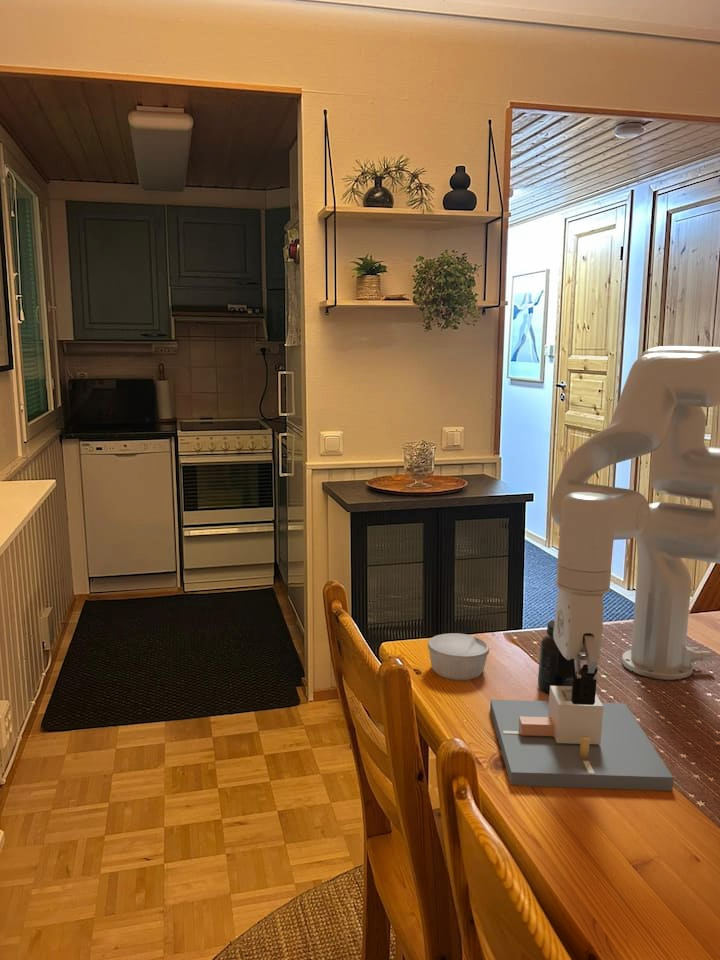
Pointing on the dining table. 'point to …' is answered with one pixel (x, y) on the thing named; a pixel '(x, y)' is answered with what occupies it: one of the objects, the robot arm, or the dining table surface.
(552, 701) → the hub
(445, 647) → the ramekin
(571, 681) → the supplement bottle
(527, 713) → the board
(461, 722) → the dining table surface
